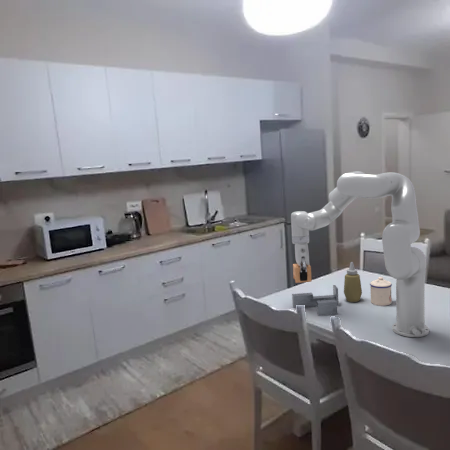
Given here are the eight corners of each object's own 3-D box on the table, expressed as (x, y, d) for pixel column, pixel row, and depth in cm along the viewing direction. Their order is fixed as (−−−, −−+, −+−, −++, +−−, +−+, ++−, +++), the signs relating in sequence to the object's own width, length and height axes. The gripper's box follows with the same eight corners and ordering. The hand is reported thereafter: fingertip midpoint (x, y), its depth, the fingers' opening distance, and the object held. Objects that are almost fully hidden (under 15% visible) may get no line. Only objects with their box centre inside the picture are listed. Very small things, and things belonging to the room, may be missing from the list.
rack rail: (338, 305, 185) (337, 288, 184) (293, 308, 186) (292, 291, 184) (333, 298, 194) (332, 282, 193) (290, 301, 195) (290, 285, 194)
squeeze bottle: (365, 299, 190) (364, 261, 188) (357, 304, 185) (356, 265, 182) (348, 296, 196) (347, 259, 193) (340, 301, 190) (339, 263, 187)
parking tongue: (337, 314, 175) (337, 301, 174) (318, 315, 175) (318, 303, 175) (335, 311, 178) (335, 299, 177) (317, 312, 178) (316, 300, 178)
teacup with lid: (395, 305, 180) (394, 279, 178) (373, 306, 180) (372, 281, 179) (386, 296, 191) (386, 272, 190) (366, 297, 192) (365, 273, 190)
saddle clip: (311, 281, 183) (310, 266, 182) (295, 282, 183) (294, 267, 182) (308, 277, 189) (308, 262, 188) (293, 278, 189) (292, 264, 188)
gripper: (312, 242, 174) (314, 283, 177) (305, 235, 192) (307, 272, 194) (295, 243, 175) (297, 284, 178) (289, 236, 192) (291, 273, 195)
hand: (302, 277), depth 186 cm, fingers closed on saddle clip, 6 cm apart
